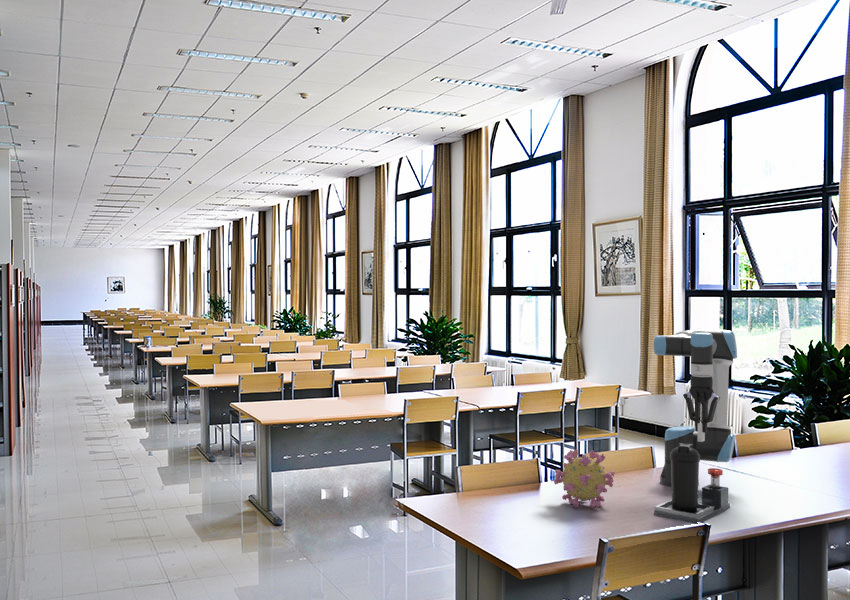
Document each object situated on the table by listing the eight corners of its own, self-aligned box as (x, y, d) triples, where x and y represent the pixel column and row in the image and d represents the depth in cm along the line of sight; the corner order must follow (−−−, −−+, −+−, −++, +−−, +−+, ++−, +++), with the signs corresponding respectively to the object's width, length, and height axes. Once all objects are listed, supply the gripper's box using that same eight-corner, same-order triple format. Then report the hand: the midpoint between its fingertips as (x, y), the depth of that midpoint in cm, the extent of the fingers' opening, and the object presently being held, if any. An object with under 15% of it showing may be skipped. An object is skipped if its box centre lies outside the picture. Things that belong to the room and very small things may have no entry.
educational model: (576, 494, 297) (576, 443, 297) (627, 505, 281) (628, 452, 281) (540, 505, 281) (540, 451, 281) (592, 518, 265) (593, 461, 265)
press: (654, 514, 270) (654, 493, 270) (687, 499, 291) (687, 479, 291) (698, 523, 259) (698, 501, 259) (729, 507, 280) (730, 486, 280)
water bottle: (701, 507, 273) (701, 443, 273) (698, 515, 264) (698, 448, 264) (671, 504, 278) (672, 441, 278) (667, 511, 268) (668, 446, 268)
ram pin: (705, 491, 278) (705, 469, 278) (711, 489, 282) (711, 467, 282) (719, 494, 275) (719, 472, 275) (724, 491, 279) (724, 469, 279)
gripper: (679, 375, 277) (679, 440, 277) (715, 378, 268) (714, 445, 268) (688, 373, 282) (688, 437, 282) (723, 376, 273) (723, 442, 273)
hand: (701, 441), depth 275 cm, fingers closed
